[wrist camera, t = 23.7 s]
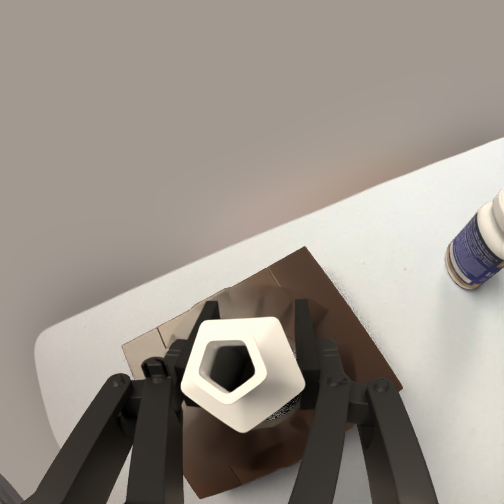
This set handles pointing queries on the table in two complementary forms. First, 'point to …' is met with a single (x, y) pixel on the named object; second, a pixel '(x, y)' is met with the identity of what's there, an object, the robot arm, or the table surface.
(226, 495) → the table surface
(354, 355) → the hole plate
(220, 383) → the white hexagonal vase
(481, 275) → the pill bottle
